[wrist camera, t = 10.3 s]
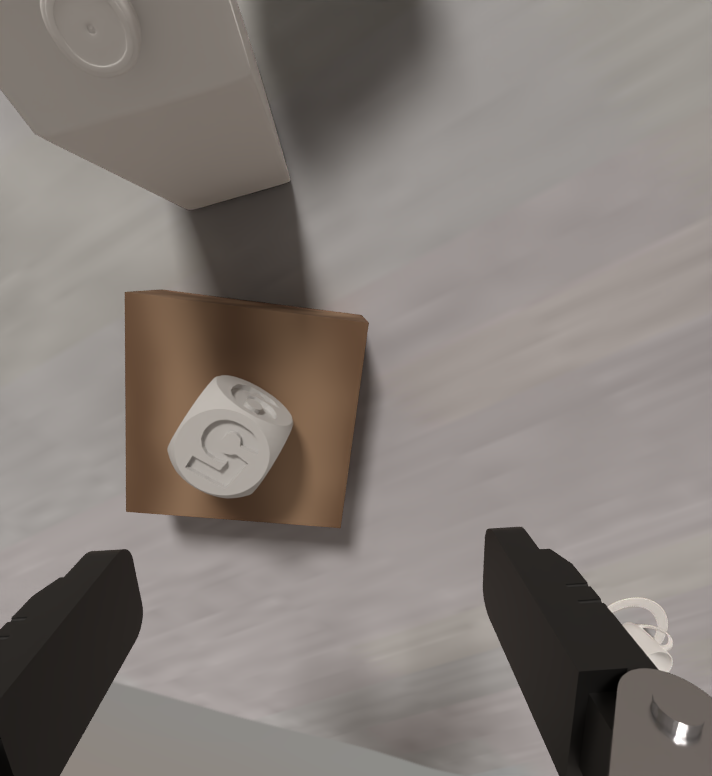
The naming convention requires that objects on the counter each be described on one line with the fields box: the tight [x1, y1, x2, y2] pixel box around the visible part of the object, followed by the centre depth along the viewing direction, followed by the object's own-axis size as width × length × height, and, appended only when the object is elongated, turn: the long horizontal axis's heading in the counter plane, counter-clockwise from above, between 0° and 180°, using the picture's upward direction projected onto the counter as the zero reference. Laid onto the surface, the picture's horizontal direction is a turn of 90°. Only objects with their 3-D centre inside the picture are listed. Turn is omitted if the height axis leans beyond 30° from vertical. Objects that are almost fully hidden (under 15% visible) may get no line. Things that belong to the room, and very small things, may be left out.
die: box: [167, 375, 293, 498], centre depth 23 cm, size 5×5×5 cm
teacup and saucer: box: [607, 597, 673, 672], centre depth 38 cm, size 9×8×4 cm
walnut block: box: [125, 290, 369, 528], centre depth 29 cm, size 14×14×6 cm
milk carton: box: [0, 0, 290, 210], centre depth 18 cm, size 7×7×19 cm
